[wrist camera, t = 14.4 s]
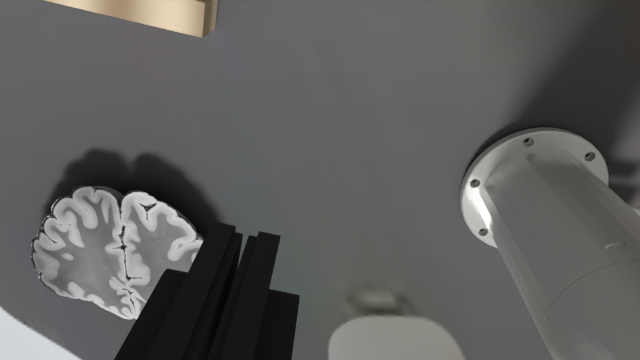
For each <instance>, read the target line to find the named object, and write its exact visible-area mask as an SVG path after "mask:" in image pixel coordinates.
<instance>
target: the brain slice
mask: <svg viewBox="0 0 640 360" xmlns="http://www.w3.org/2000/svg"><path fill="white" fill-rule="evenodd" d="M51 213H52V214H50V215H48V216H47V217H46V218H45V219H44V220H43V222H42V225H41V227H40V229H39V230H38V233H37V237H36V238H34V239H32V243H31V246H32V252H31V260H32V262H33V265H34V268H35V269H36V271H38V272H39V276H38V277H39V279H40V281H41V282H42V283H43V284H44V286H45V287H46V288H48V289H49V290H51V291H52V292H54V293H56V294H58V295H60V296H66V297H69V298H74V299H82V300H86V301H90V302H93V303H94V304H96V305H98V306H100V307H101V308H103V309H105V310H107V311H110V312H112V313H114V314H115V315H117V316H119V317H122V318H124V319H131V320H132V319H133V318H135V319H136V320H137V318H138V316H139V315H140V313H141V311H142V309H143V307H144V306H145V304H146V302H147V300H148V299H149V297H150V295H151V293H152V291H153V290H154V288H155V286H156V284H157V283H158V281H159V279H160V277H161V276H162V274H163V272H164V271H165V270H166V269H167V268H169V269H174V270H178V271H183V272H188V271H189V269H190V267H191V265H192V263H193V261H194V259H195V257H196V255H197V253H198V251H199V249H200V247H201V245H202V243H203V241H204V238H203V237H202V235H200V234H199V233H197V232H196V229H195V227H194V226H193V224H192V223H191V222H190V221H189V220H188V219H187V218H186V217H185V216H184V215H183V214H182V213H180V212H179V211H178V210H176V209H175V208H173V207H172V206H171V205H169V204H167V203H165V202H163V201H160V200H157V199H155V198H154V197H153V196H152V195H150V194H148V193H146V192H143V191H140V190H132V191H129V192H127V193H126V194H124V195H122V194H121V193H120V192H119V191H117V190H115V189H113V188H110V187H106V186H93V187H92V186H89V185H81V186H78V187H76V188H74V189H73V190H72V192H71V193H70V196H62V197H60V198H58V199H57V200H56V201H55V202H54V204H53V205H52V207H51Z"/></svg>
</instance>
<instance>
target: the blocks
mask: <svg viewBox="0 0 640 360" xmlns="http://www.w3.org/2000/svg"><path fill="white" fill-rule="evenodd" d="M45 1H49V2H54V3H58V4H62V5H66V6H70V7H75V8H79V9H83V10H87V11H92V12H96V13H100V14H104V15H109V16H113V17H117V18H121V19H125V20H130V21H134V22H138V23H142V24H147V25H151V26H155V27H159V28H163V29H168V30H172V31H176V32H180V33H185V34H189V35H193V36H197V37H204V36H206V35H207V34H209V33H210V32H212V31H213V30H215V26H216V16H217V5H218V0H45Z"/></svg>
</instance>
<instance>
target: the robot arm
mask: <svg viewBox="0 0 640 360" xmlns="http://www.w3.org/2000/svg"><path fill="white" fill-rule="evenodd" d="M526 138H527V139H526ZM525 139H526V140H525ZM524 140H525V141H524ZM474 179H475V180H474ZM472 180H473V181H472ZM608 186H609V173H608V169H607V165H606V162H605V160H604V159H603V157H602V155H601V153H600V152H599V151H598V150H597V149H596V148H595V147H594V146H593V145H592V144H591V143H590V142H588V141H587V140H586V139H584V138H583V137H582V136H580V135H577V134H575V133H573V132H571V131H568V130H564V129H559V128H549V127H540V128H532V129H526V130H523V131H519V132H516V133H512V134H510V135H508V136H506V137H504V138H502V139H500V140H498V141H497V142H495V143H494V144H492V145H491V146H489V147H488V148H486V149H485V150H484V151H483V152H482V153H481V154H480V155H479V156H478V157H477V158H476V159H475V161H474V162H473V163H472V165H471V166H470V167H469V169H468V171H467V173H466V175H465V177H464V179H463V181H462V185H461V189H460V201H459V202H460V207H461V212H462V215H463V217H464V220H465V222H466V224H467V225H468V227H469V229H470V230H471V231H472V233H473V234H474V235H475V236H476V237H477V238H479V239H480V240H482V241H483V242H485V243H486V244H488V245H490V246H493V247H495V248H498V250H499V252H500V254H501V256H502V258H503V260H504V262H505V264H506V266H507V268H508V270H509V272H510V274H511V276H512V278H513V280H514V282H515V284H516V286H517V288H518V290H519V292H520V294H521V296H522V298H523V300H524V302H525V304H526V306H527V308H528V310H529V312H530V314H531V316H532V318H533V320H534V322H535V324H536V326H537V328H538V330H539V332H540V334H541V336H542V338H543V340H544V342H545V344H546V346H547V348H548V350H549V352H550V354H551V356H552V358H553V360H640V207H637V206H632V205H628V204H626V203H625V202H624V201H623V200H622V199H621V198H620V197H619V196H618V195H617V194H616V193H615V192H614V191H612V190H611V189H610V188H609V187H608ZM235 230H236V227H235V226H232V225H227V224H223V223H218V222H213V223H212V224H211V226H210V228H209V230H208V232H207V234H206V236H205V239H204V241H203V243H202V245H201V247H200V249H199V251H198V253H197V255H196V257H195V259H194V261H193V263H192V265H191V267H190V269H189V271H188V272H183V271H178V270H174V269H169V268H167V269H166V270H165V271H164V272H163V274H162V276H161V277H160V279H159V281H158V283H157V284H156V286H155V288H154V290H153V291H152V293H151V295H150V297H149V299H148V300H147V302H146V304H145V306H144V307H143V309H142V311H141V313H140V315H139V316H138V318H137V320H136V322H135V323H134V325H133V327H132V329H131V331H130V332H129V334H128V336H127V338H126V339H125V341H124V343H123V345H122V347H121V348H120V350H119V352H118V354H117V355H116V357H115V359H114V360H291V358H292V350H293V343H294V335H295V328H296V321H297V313H298V306H299V295H295V294H290V293H286V292H281V291H276V290H271V289H269V287H270V282H271V278H272V273H273V269H274V264H275V259H276V255H277V250H278V246H279V241H280V236H279V235H274V234H270V233H265V232H260V231H259V233H258V236H257V237H255V236H250V235H249V237H248V240H247V243H246V246H245V249H244V252H243V255H242V258H241V261H240V264H239V267H238V262H239V255H240V249H241V243H242V237H243V234H241V233H236V232H235ZM237 268H238V270H237Z"/></svg>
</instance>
